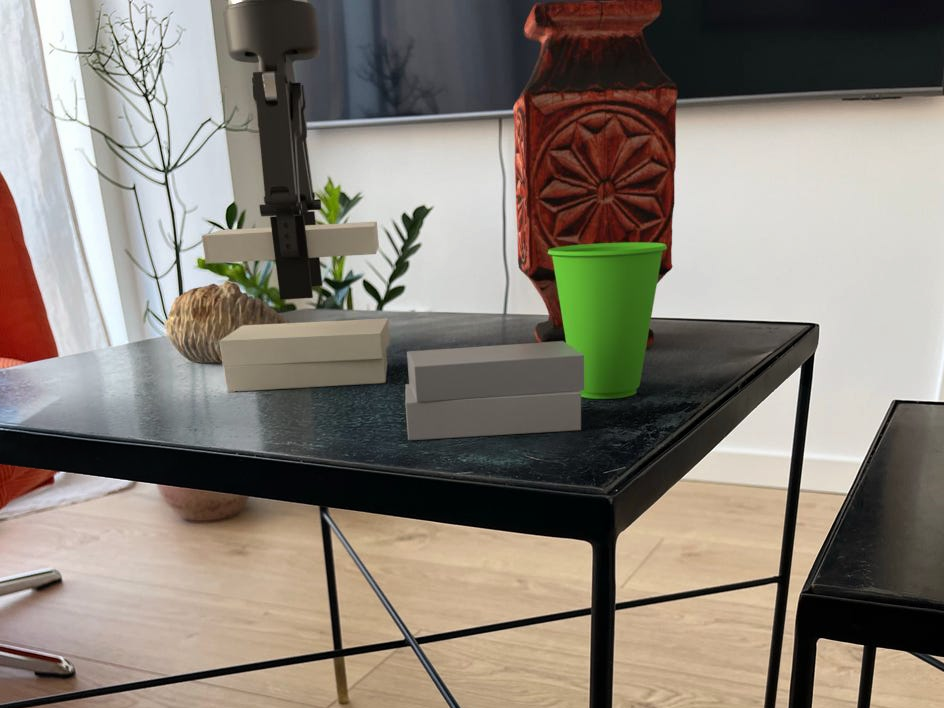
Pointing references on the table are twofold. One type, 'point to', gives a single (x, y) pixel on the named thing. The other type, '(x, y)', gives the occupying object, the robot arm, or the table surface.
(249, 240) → the white book
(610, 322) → the cup
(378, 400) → the table surface
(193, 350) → the seashell
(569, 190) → the vase
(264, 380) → the white pile
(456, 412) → the grey books
